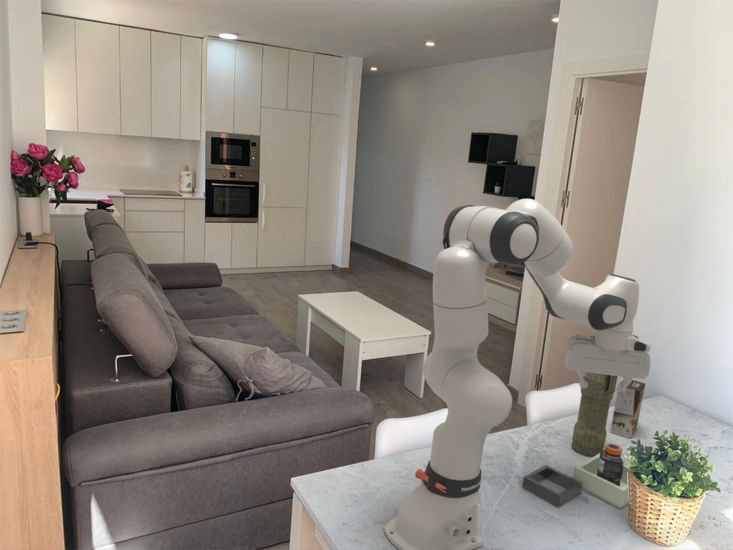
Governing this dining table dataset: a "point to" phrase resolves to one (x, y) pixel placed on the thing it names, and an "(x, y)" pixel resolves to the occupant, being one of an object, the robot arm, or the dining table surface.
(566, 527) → the dining table surface
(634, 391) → the coffee box
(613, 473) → the pill bottle
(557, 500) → the dark grey shallow tray
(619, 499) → the bin
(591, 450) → the thermos
